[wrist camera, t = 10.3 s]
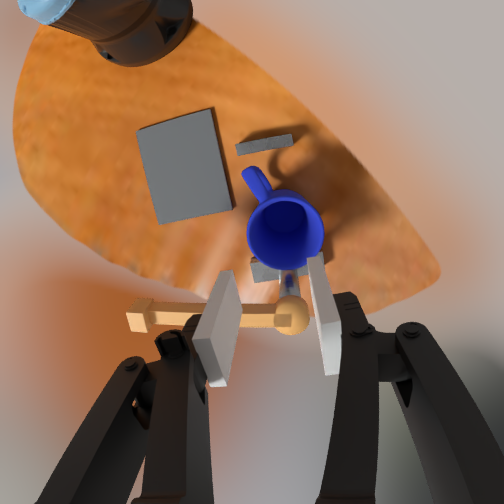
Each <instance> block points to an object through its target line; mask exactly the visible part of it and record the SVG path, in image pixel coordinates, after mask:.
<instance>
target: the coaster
mask: <svg viewBox="0 0 504 504" xmlns="http://www.w3.org/2000/svg"><path fill="white" fill-rule="evenodd" d="M136 135H137V140H138V144H139V149H140V153H141V158H142V162H143V166H144V170H145V174H146V178H147V182H148V186H149V190H150V194H151V198H152V201H153V205H154V209H155V213H156V216H157V220H158V223H159V225H162V224H166V223H171V222H175V221H180V220H185V219H189V218H194V217H199V216H204V215H209V214H214V213H219V212H224V211H229V210H233V207H232V202H231V198H230V193H229V189H228V184H227V180H226V176H225V171H224V167H223V162H222V158H221V153H220V149H219V144H218V140H217V135H216V131H215V126H214V121H213V117H212V112H211V109H208V110H204V111H200V112H197V113H193V114H189V115H186V116H182V117H179V118H176V119H172V120H169V121H166V122H163V123H160V124H157V125H153V126H150V127H147V128H145V129H142V130H139V131H136Z"/></svg>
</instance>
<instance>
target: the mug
mask: <svg viewBox="0 0 504 504" xmlns="http://www.w3.org/2000/svg"><path fill="white" fill-rule="evenodd" d="M241 174H242V176H243V178H244V180H245V181H246V183H247V185H248V186H249V188H250V189H251V191H252V192H253V194H254V195H255V197H256V198H257V199H258V201H259V205H258V206H257V208H256V209H255V210H254V212H253V213H252V215H251V217H250V219H249V222H248V225H247V241H248V245H249V247H250V249H251V251H252V253H253V254H254V256H255V257H256V258H257V259H258V260H259V261H260V262H261V263H263V264H264V265H266V266H268V267H270V268H273V269H277V270H294V269H298V268H300V267H303V266H305V265H306V264H307V258H310V257H316V256H317V254H318V253H319V251H320V249H321V247H322V244H323V241H324V225H323V221H322V219H321V217H320V215H319V213H318V212H317V210H316V209H315V208H314V207H313V206H312V205H311V204H310V203H309V202H308V201H307V200H306V199H305V198H304V197H302V196H301V195H300V194H298V193H297V192H295V191H292V190H288V189H281V190H275V191H273V189H272V187H271V185H270V183H269V181H268V180H267V178H266V177H265V175H264V174H263V172H262V171H261V170H260V169H259V168H258V167H256V166H250V167H248V168H246V169H244V170H243V171H242V173H241Z"/></svg>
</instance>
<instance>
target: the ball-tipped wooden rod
mask: <svg viewBox="0 0 504 504" xmlns="http://www.w3.org/2000/svg"><path fill="white" fill-rule="evenodd" d="M206 304H207V303H174V302H154V300H153V299H148V298H137V299H136V301H135V302H134V303H133V304H132V306H131V307H130V308H129V309H128V311H127V312H126V314H127V318H128V321H129V325H130V328H131V331H135V332H146V333H147V332H148V331H149V329H150V328H151V326H152V324H168V325H185V323H186V321H187V320H188V319H189V318H190V317H191V316H192V315H193V314H202V313H203V311H204V309H205V306H206ZM241 305H242V309H243V311H242V315H241V320H240V325H239V327H276V329H277V330H278V331H279V332H281V333H283V334H287V335H295V334H299V333H301V332H302V331H304V330H305V329H306V328H307V326H308V325H309V320H310V317H309V311H308V305H307V303H306V301H305V300H304V299H303V298H301V297H299V296H296V295H287V296H284V297H282V298H280V299H279V300H278V301H277V302H276V304H241Z"/></svg>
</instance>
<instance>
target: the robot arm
mask: <svg viewBox="0 0 504 504" xmlns="http://www.w3.org/2000/svg"><path fill="white" fill-rule="evenodd" d="M18 5H19V8H20V10H21V11H22V12H23V13H24V14H25V15H27V16H28V17H31V18H33V19H35V20H38V21H39V23H42V24H44V25H49V26H52V27H55V28H58V29H61V30H64V31H67V32H70V33H73V34H76V35H79V36H81V37H84V38H87V39H89V40H90V41H91V42H92V43H93V45H94V46H95V48H96V49H97V51H98V52H99V53H100V55H101V56H102V57H104V58H105V59H106V60H108V61H110V62H112V63H115V64H117V65H120V66H125V67H138V66H143V65H147V64H150V63H152V62H155V61H157V60H159V59H161V58H162V57H164V56H165V55H167V54H168V53H169V52H171V51H172V50H173V49H174V48H175V47H176V46H177V45H178V44H179V43H180V42H181V40H182V39H183V38H184V36H185V35H186V33H187V31H188V29H189V27H190V25H191V21H192V17H193V7H192V2H191V0H18ZM307 265H308V272H309V279H310V287H311V294H312V301H313V307H314V312H315V317H316V322H317V328H318V334H319V340H320V345H321V351H322V357H323V363H324V369H325V375H326V376H327V375H333V374H339V379H338V387H337V396H336V403H335V411H334V418H333V425H332V431H331V437H330V443H329V449H328V455H327V460H326V466H325V470H324V475H323V480H322V485H321V490H320V494H319V496H318V498H317V499H316V502H315V504H375V485H376V472H377V458H378V434H379V382H391V384H392V386H393V389H394V391H395V394H396V396H397V399H398V401H399V404H400V406H401V409H402V411H403V414H404V416H405V419H406V422H407V425H408V427H409V430H410V433H411V435H412V438H413V441H414V444H415V446H416V449H417V452H418V455H419V458H420V461H421V464H422V467H423V470H424V473H425V476H426V479H427V483H428V486H429V489H430V492H431V495H432V499H433V502H434V504H504V456H503V454H502V452H501V450H500V448H499V446H498V444H497V442H496V440H495V438H494V436H493V434H492V432H491V430H490V428H489V427H488V425H487V423H486V421H485V420H484V418H483V416H482V414H481V412H480V410H479V409H478V407H477V405H476V404H475V402H474V400H473V398H472V397H471V395H470V394H469V392H468V390H467V388H466V387H465V385H464V384H463V382H462V380H461V379H460V377H459V376H458V374H457V372H456V371H455V369H454V368H453V366H452V365H451V363H450V362H449V360H448V359H447V357H446V355H445V354H444V353H443V351H442V349H441V348H440V347H439V345H438V344H437V342H436V341H435V339H434V338H433V336H432V335H431V334H430V332H429V331H428V329H427V328H426V327H425V326H424V325H422V324H420V323H417V322H407V323H404V324H401V325H400V326H399V327H397V329H396V332H395V333H383V332H378V331H376V330H375V327H374V326H372V325H371V324H369V323H368V321H367V319H366V317H365V314H364V312H363V310H362V308H361V305H360V303H359V301H358V299H357V296H356V295H354V294H353V293H351V292H344V293H339V294H332V291H331V288H330V285H329V282H328V279H327V276H326V273H325V270H324V267H323V264H322V261H321V258H320V256H316V257H310V258H307ZM242 311H243V309H242V305H241V301H240V297H239V293H238V289H237V285H236V281H235V277H234V273H233V270H227V271H220V273H219V275H218V278H217V280H216V282H215V285H214V287H213V289H212V292H211V294H210V297H209V299H208V301H207V304H206V306H205V309H204V311H203V313H202V314H193V315H192V316H191V317H190V318H189V319H188V320H187V321H186V323H185V325H184V328H183V330H182V331H181V330H176V329H175V330H169V331H165V332H164V333H162V334H160V335H159V336H158V337H156V339H155V344H156V346H157V348H158V351H159V353H160V355H161V360H158V361H155V362H151V363H147V364H146V363H145V361H144V359H143V358H141V357H138V356H134V357H130V358H127V359H125V360H124V361H122V362H121V364H120V365H119V366H118V367H117V369H116V371H115V372H114V374H113V375H112V377H111V378H110V380H109V381H108V383H107V384H106V386H105V387H104V389H103V391H102V392H101V394H100V395H99V397H98V398H97V400H96V402H95V403H94V405H93V407H92V408H91V410H90V411H89V413H88V414H87V416H86V418H85V419H84V421H83V422H82V424H81V426H80V427H79V429H78V431H77V433H76V434H75V436H74V437H73V439H72V441H71V442H70V444H69V446H68V447H67V449H66V451H65V452H64V454H63V456H62V458H61V459H60V461H59V463H58V464H57V466H56V468H55V470H54V471H53V473H52V475H51V477H50V479H49V480H48V482H47V484H46V486H45V488H44V489H43V491H42V493H41V495H40V497H39V498H38V500H37V502H35V504H126V503H127V500H128V498H129V495H130V492H131V490H132V488H133V485H134V483H135V480H136V478H137V475H138V472H139V470H140V468H141V465H142V463H143V460H144V457H145V455H146V457H145V465H144V475H143V484H142V493H141V496H140V497H139V498H134V499H133V500H132V502H131V504H214V495H213V482H212V468H211V452H210V432H209V411H208V392H207V390H206V387H205V384H206V380H208V382H209V384H210V386H211V387H222V386H227V383H228V379H229V374H230V368H231V364H232V359H233V354H234V349H235V345H236V339H237V334H238V330H239V325H240V320H241V315H242ZM134 400H135V401H136V403H135V405H134V406H132V403H133V401H134Z"/></svg>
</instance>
